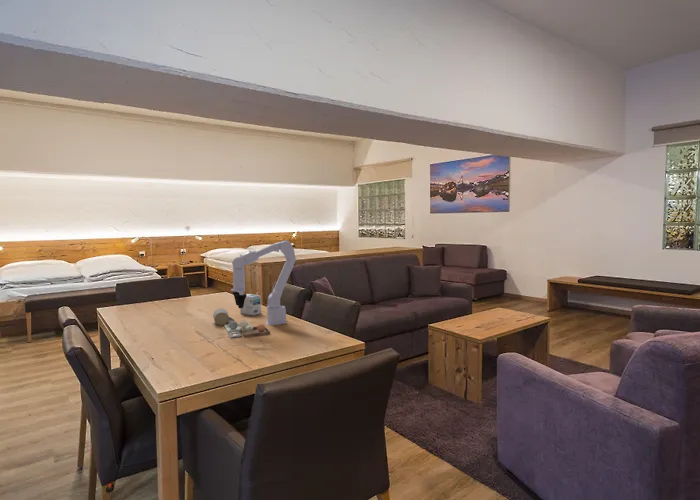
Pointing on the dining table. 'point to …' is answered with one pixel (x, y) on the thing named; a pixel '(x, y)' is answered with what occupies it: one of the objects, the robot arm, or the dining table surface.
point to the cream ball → (243, 324)
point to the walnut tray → (254, 332)
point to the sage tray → (238, 328)
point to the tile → (235, 335)
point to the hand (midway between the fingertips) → (239, 306)
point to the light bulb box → (251, 305)
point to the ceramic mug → (222, 317)
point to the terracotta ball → (261, 327)
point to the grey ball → (233, 325)
